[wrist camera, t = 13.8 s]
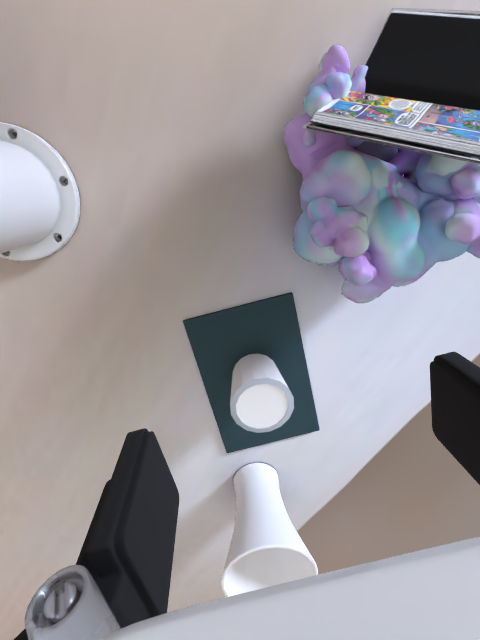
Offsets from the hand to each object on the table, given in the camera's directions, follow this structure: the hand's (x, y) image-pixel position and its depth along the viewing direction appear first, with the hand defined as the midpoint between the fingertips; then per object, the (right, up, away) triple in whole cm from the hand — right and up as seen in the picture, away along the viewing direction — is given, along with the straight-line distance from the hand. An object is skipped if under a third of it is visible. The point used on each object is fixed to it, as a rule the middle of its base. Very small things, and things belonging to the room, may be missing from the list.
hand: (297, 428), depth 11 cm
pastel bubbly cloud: (+11, +19, +24) cm, 33 cm away
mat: (0, -4, +32) cm, 32 cm away
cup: (0, -19, +38) cm, 42 cm away
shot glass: (0, -3, +31) cm, 31 cm away
